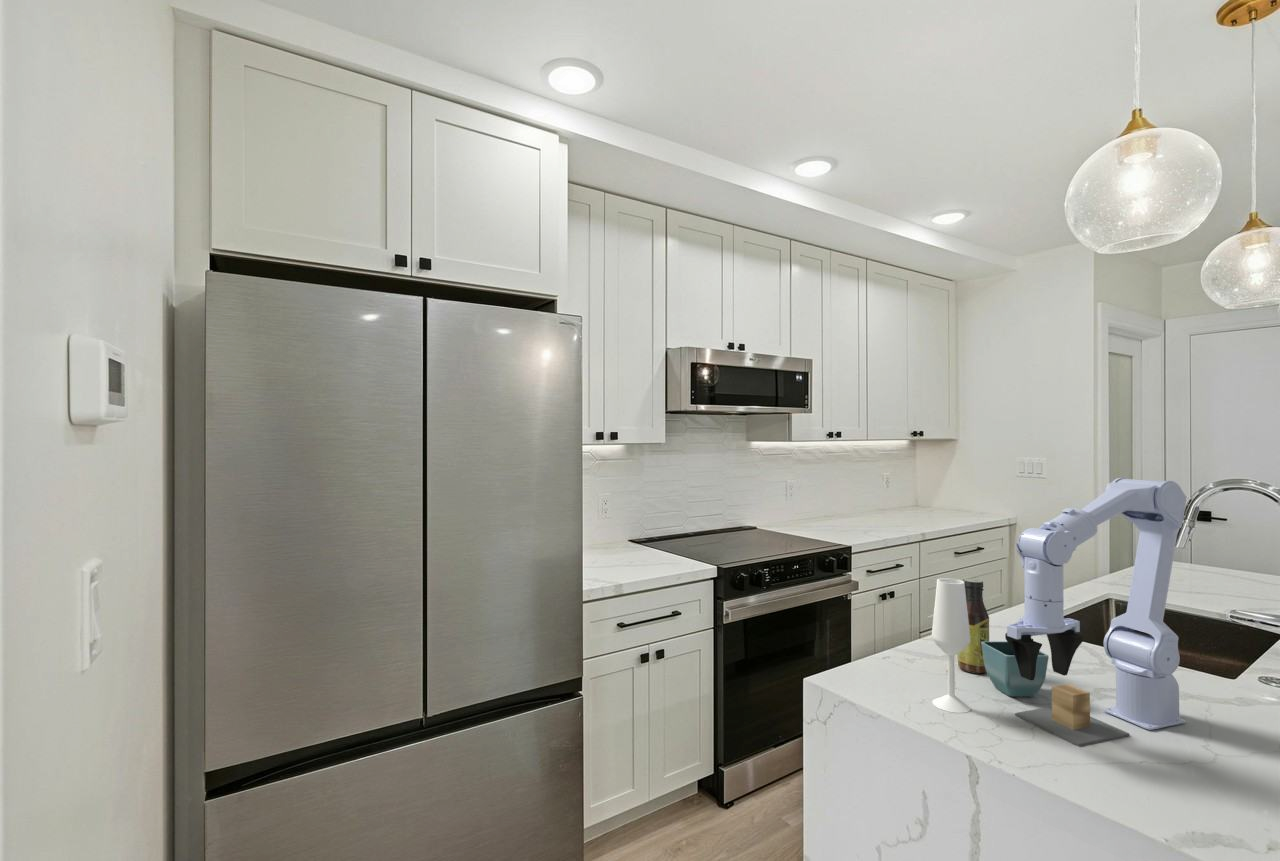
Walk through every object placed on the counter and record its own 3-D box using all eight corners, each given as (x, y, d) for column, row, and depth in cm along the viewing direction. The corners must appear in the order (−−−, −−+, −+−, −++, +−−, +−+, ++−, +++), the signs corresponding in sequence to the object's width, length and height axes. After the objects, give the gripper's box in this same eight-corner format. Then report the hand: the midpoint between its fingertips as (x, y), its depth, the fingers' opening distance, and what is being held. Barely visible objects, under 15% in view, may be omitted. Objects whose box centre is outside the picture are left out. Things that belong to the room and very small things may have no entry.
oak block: (1068, 716, 112) (1068, 684, 112) (1090, 726, 108) (1089, 692, 108) (1051, 719, 111) (1051, 686, 111) (1073, 729, 107) (1073, 695, 107)
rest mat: (1062, 706, 117) (1062, 704, 117) (1129, 735, 106) (1129, 733, 106) (1015, 715, 114) (1015, 712, 114) (1078, 746, 102) (1078, 743, 102)
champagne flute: (932, 695, 122) (932, 575, 123) (970, 702, 119) (970, 579, 120) (931, 708, 117) (930, 582, 117) (971, 715, 113) (970, 586, 114)
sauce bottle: (987, 677, 131) (986, 585, 132) (955, 670, 135) (954, 581, 135) (991, 668, 137) (991, 579, 137) (960, 662, 140) (960, 575, 141)
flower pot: (1021, 683, 128) (1020, 640, 129) (1050, 701, 120) (1050, 655, 120) (980, 683, 128) (979, 641, 128) (1006, 701, 119) (1006, 656, 119)
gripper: (1053, 589, 113) (1053, 663, 112) (992, 595, 108) (992, 671, 108) (1091, 599, 106) (1091, 677, 106) (1027, 605, 102) (1028, 687, 101)
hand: (1043, 675), depth 106 cm, fingers open, 7 cm apart
